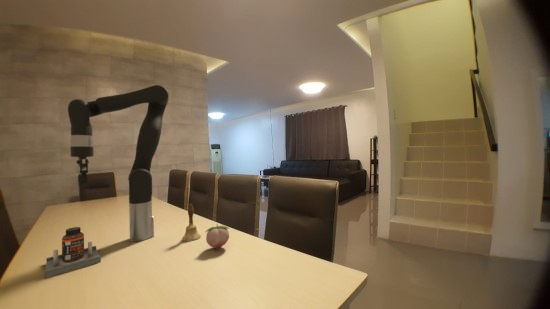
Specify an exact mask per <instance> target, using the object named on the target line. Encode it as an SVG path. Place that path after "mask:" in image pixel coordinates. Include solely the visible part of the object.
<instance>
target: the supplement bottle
mask: <svg viewBox="0 0 550 309" xmlns="http://www.w3.org/2000/svg"><path fill="white" fill-rule="evenodd" d="M81 228H82V227H80V226H75V227H69V228H67V229H65V234H64V235H63V236H62V238H61V254H62V261H63V262H73V261H76V260H79V259H81V258H82V257H84V249H85V234H84V232H81V231H82V230H81Z"/></svg>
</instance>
